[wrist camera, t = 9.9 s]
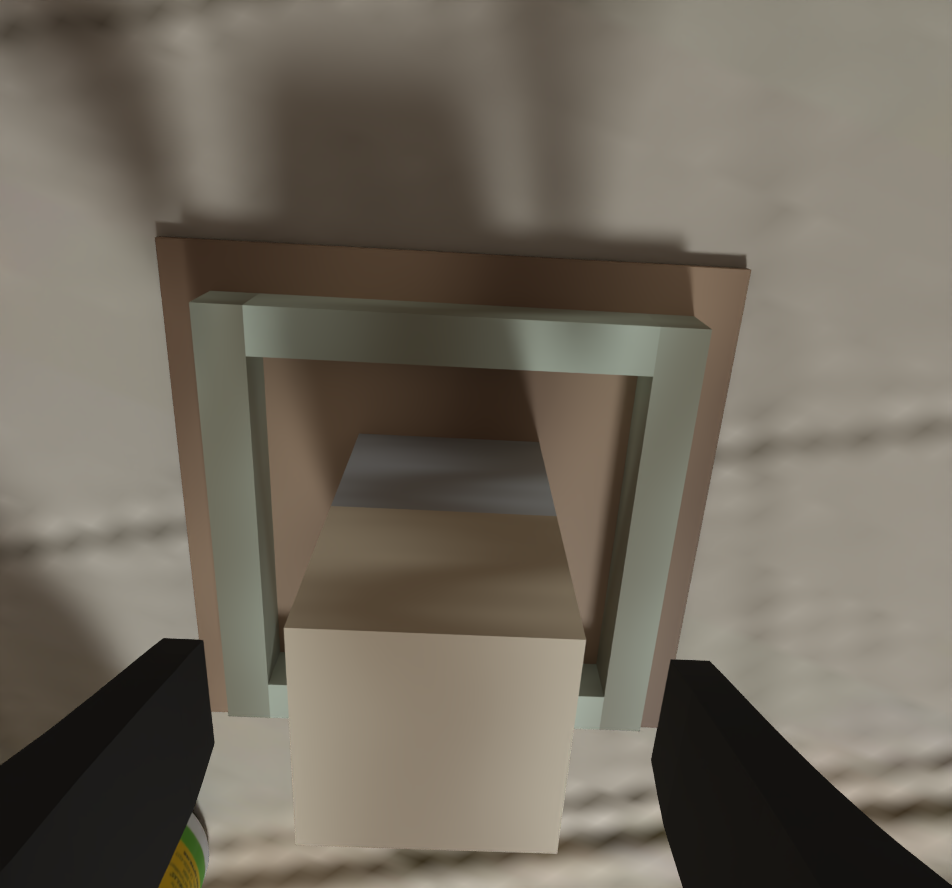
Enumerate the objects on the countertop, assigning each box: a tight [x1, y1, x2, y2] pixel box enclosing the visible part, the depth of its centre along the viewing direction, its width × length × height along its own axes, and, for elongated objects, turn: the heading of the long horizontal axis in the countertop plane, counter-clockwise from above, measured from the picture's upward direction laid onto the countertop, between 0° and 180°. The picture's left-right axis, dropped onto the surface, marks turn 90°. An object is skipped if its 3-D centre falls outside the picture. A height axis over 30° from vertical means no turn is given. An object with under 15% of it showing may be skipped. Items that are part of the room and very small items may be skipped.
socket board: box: [155, 236, 751, 731], centre depth 16 cm, size 12×12×1 cm
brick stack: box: [284, 434, 586, 854], centre depth 14 cm, size 4×4×7 cm
